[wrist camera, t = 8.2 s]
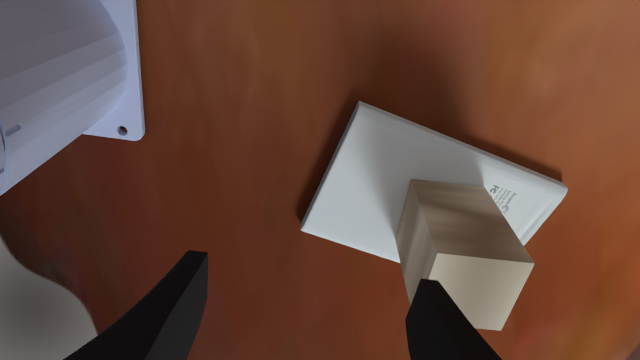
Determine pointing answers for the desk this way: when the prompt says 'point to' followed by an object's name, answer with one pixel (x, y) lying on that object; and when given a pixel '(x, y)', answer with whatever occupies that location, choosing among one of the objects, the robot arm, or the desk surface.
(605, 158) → the desk surface
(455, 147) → the external hard drive
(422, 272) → the birch block
